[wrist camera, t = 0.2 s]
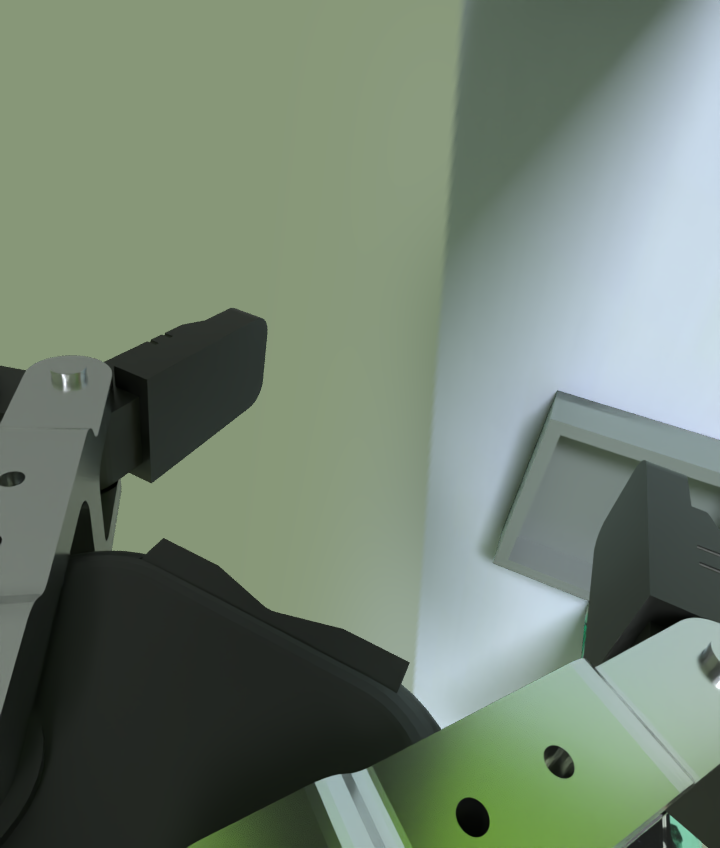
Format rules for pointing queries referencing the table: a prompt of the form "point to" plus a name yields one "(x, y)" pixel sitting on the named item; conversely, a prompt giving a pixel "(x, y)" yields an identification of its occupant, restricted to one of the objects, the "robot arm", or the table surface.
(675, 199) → the table surface
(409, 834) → the robot arm
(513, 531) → the tray
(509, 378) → the table surface
